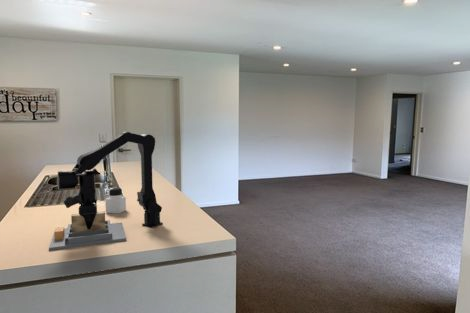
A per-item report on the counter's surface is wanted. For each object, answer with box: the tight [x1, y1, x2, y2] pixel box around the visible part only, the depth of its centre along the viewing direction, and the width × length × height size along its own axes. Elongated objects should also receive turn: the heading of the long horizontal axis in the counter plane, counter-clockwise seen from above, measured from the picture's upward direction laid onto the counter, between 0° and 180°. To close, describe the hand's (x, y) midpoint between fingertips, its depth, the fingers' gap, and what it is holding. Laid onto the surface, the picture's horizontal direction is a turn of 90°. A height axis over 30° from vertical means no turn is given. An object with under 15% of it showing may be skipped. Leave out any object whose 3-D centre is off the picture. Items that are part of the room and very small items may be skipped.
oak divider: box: [70, 210, 106, 233], centre depth 133 cm, size 12×3×8 cm, turn 113°
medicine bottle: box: [104, 187, 127, 215], centre depth 169 cm, size 7×7×12 cm
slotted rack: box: [48, 219, 127, 251], centre depth 133 cm, size 26×22×4 cm
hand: (89, 225), depth 133 cm, fingers open, 9 cm apart
